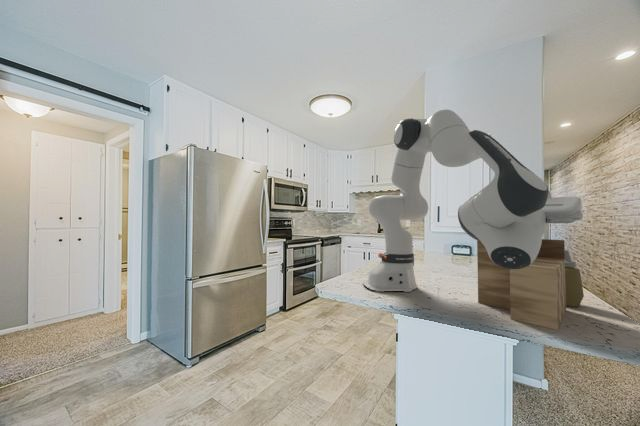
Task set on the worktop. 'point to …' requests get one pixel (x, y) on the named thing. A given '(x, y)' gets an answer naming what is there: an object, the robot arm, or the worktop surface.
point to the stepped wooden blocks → (527, 285)
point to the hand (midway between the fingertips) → (531, 196)
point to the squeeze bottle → (572, 283)
